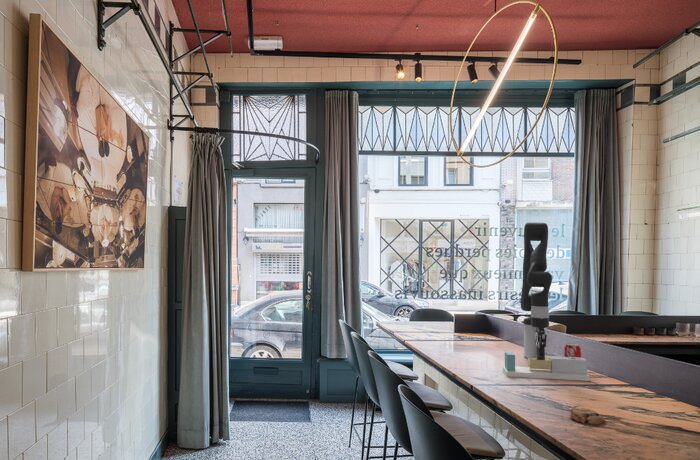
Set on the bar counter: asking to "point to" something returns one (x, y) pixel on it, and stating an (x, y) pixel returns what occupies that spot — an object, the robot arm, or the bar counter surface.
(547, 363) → the tan knobbed slider
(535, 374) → the board
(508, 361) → the socket
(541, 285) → the robot arm
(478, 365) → the bar counter surface
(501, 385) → the bar counter surface
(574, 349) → the soda can
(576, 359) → the steel sleeve
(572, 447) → the bar counter surface
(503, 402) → the bar counter surface
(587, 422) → the cookie
